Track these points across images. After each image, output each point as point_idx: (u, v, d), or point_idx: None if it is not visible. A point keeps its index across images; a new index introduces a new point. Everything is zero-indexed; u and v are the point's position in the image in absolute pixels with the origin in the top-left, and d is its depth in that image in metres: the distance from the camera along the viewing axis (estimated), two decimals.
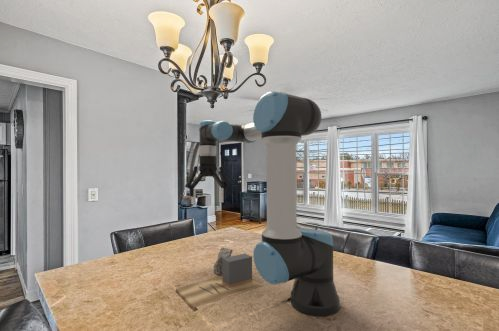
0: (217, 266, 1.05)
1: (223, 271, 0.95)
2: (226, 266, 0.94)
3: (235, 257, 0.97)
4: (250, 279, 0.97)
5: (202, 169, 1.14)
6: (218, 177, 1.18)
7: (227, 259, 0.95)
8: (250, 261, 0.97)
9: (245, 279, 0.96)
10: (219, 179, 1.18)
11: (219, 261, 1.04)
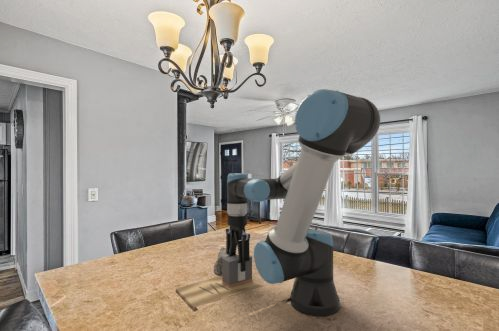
0: (217, 266, 1.05)
1: (223, 271, 0.95)
2: (226, 266, 0.94)
3: (235, 257, 0.97)
4: (250, 279, 0.97)
5: (230, 230, 0.99)
6: (238, 246, 0.94)
7: (227, 259, 0.95)
8: (250, 261, 0.97)
9: (245, 279, 0.96)
10: (238, 249, 0.94)
11: (219, 261, 1.04)
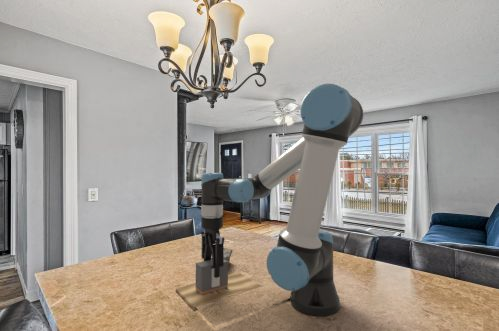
0: None
1: (197, 276, 0.89)
2: (199, 272, 0.88)
3: (210, 262, 0.91)
4: (225, 285, 0.91)
5: (205, 232, 0.93)
6: (212, 250, 0.88)
7: (200, 264, 0.89)
8: (225, 266, 0.92)
9: (220, 285, 0.90)
10: (212, 253, 0.88)
11: None
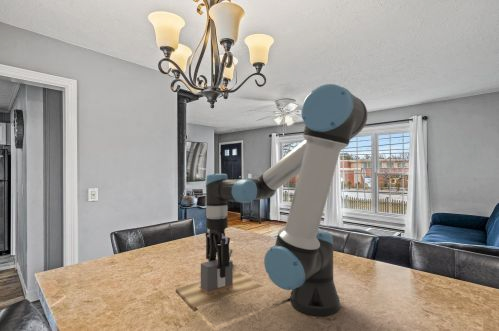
0: None
1: (202, 276, 0.90)
2: (204, 272, 0.88)
3: (214, 262, 0.92)
4: (230, 285, 0.92)
5: (210, 233, 0.94)
6: (218, 250, 0.89)
7: (206, 264, 0.90)
8: (230, 266, 0.92)
9: (225, 285, 0.91)
10: (218, 253, 0.89)
11: None
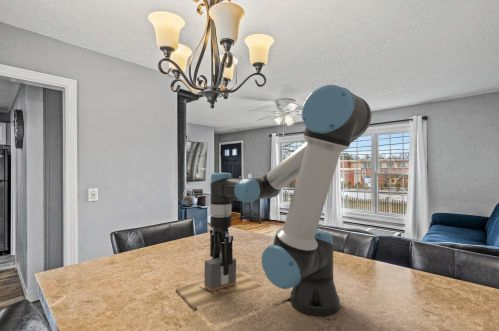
0: None
1: (206, 273, 0.91)
2: (208, 269, 0.90)
3: (218, 259, 0.93)
4: (234, 282, 0.93)
5: (214, 231, 0.95)
6: (221, 248, 0.90)
7: (209, 261, 0.91)
8: (233, 263, 0.93)
9: (228, 282, 0.92)
10: (221, 251, 0.90)
11: None
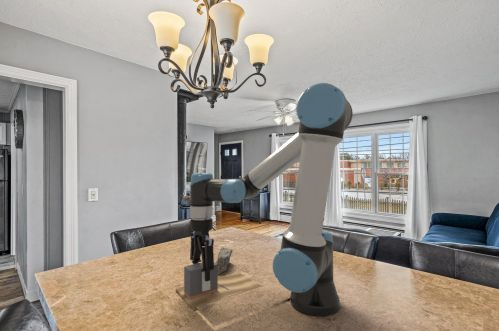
0: None
1: (185, 280, 0.87)
2: (187, 276, 0.85)
3: (199, 265, 0.89)
4: (215, 289, 0.89)
5: (195, 235, 0.91)
6: (202, 252, 0.86)
7: (189, 268, 0.86)
8: (215, 269, 0.89)
9: None
10: (202, 256, 0.85)
11: (219, 261, 1.04)
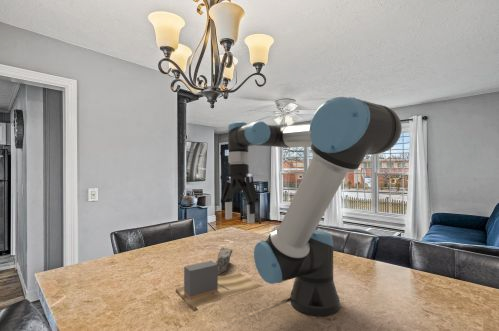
0: None
1: (185, 280, 0.87)
2: (187, 276, 0.85)
3: (199, 265, 0.89)
4: (215, 289, 0.89)
5: (231, 180, 0.99)
6: (244, 190, 0.93)
7: (189, 268, 0.86)
8: (215, 269, 0.89)
9: (209, 289, 0.88)
10: (245, 193, 0.93)
11: (219, 261, 1.04)
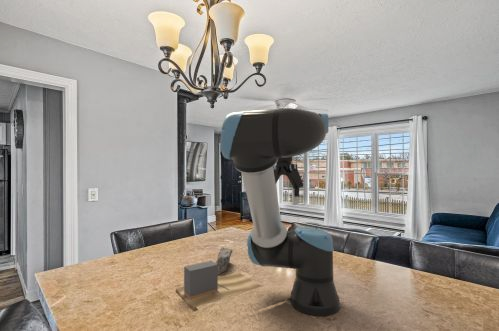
0: None
1: (185, 280, 0.87)
2: (187, 276, 0.85)
3: (199, 265, 0.89)
4: (215, 289, 0.89)
5: (276, 167, 1.12)
6: (289, 176, 1.06)
7: (189, 268, 0.86)
8: (215, 269, 0.89)
9: (209, 289, 0.88)
10: (290, 178, 1.05)
11: (219, 261, 1.04)
